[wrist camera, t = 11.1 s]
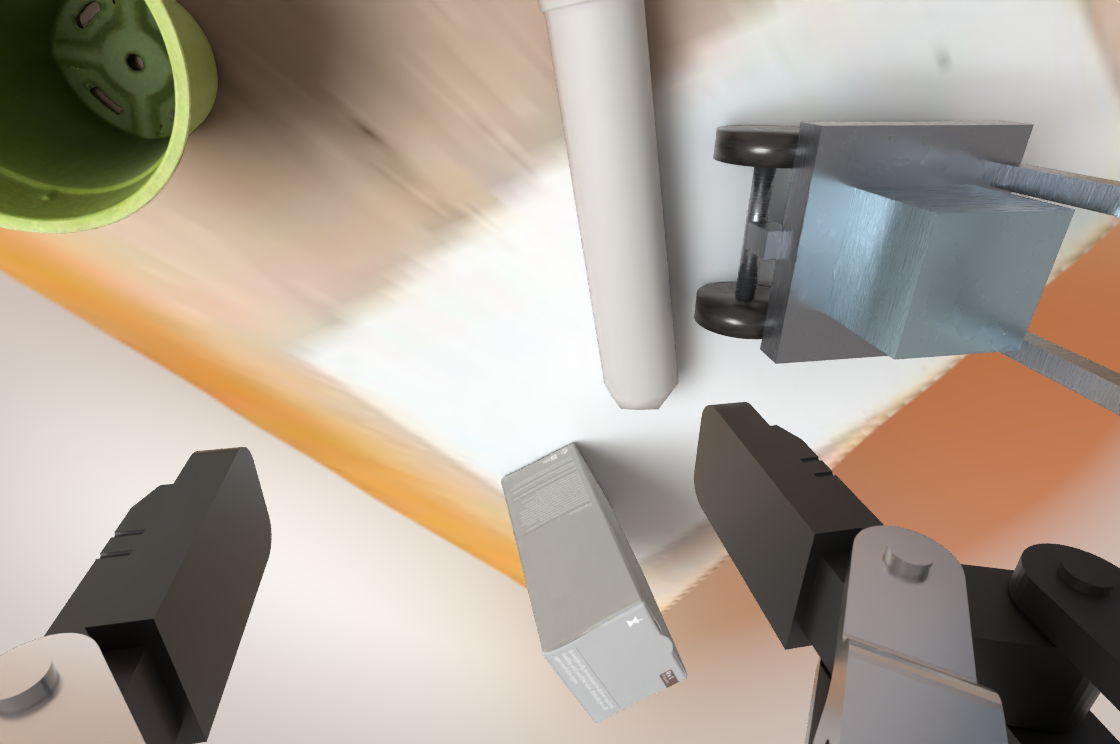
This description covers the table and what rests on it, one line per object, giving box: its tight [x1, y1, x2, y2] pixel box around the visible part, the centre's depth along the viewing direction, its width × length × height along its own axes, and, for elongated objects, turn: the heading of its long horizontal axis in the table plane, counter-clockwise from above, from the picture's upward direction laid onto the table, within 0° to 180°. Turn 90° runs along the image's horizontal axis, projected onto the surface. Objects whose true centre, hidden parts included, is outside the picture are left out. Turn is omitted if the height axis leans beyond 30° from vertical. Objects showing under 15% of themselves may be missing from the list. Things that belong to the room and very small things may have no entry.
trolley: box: [694, 121, 1120, 416], centre depth 31 cm, size 13×18×22 cm
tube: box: [538, 0, 678, 410], centre depth 36 cm, size 5×5×25 cm
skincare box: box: [501, 443, 687, 723], centre depth 41 cm, size 8×7×16 cm
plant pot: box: [0, 0, 218, 233], centre depth 25 cm, size 12×12×11 cm
